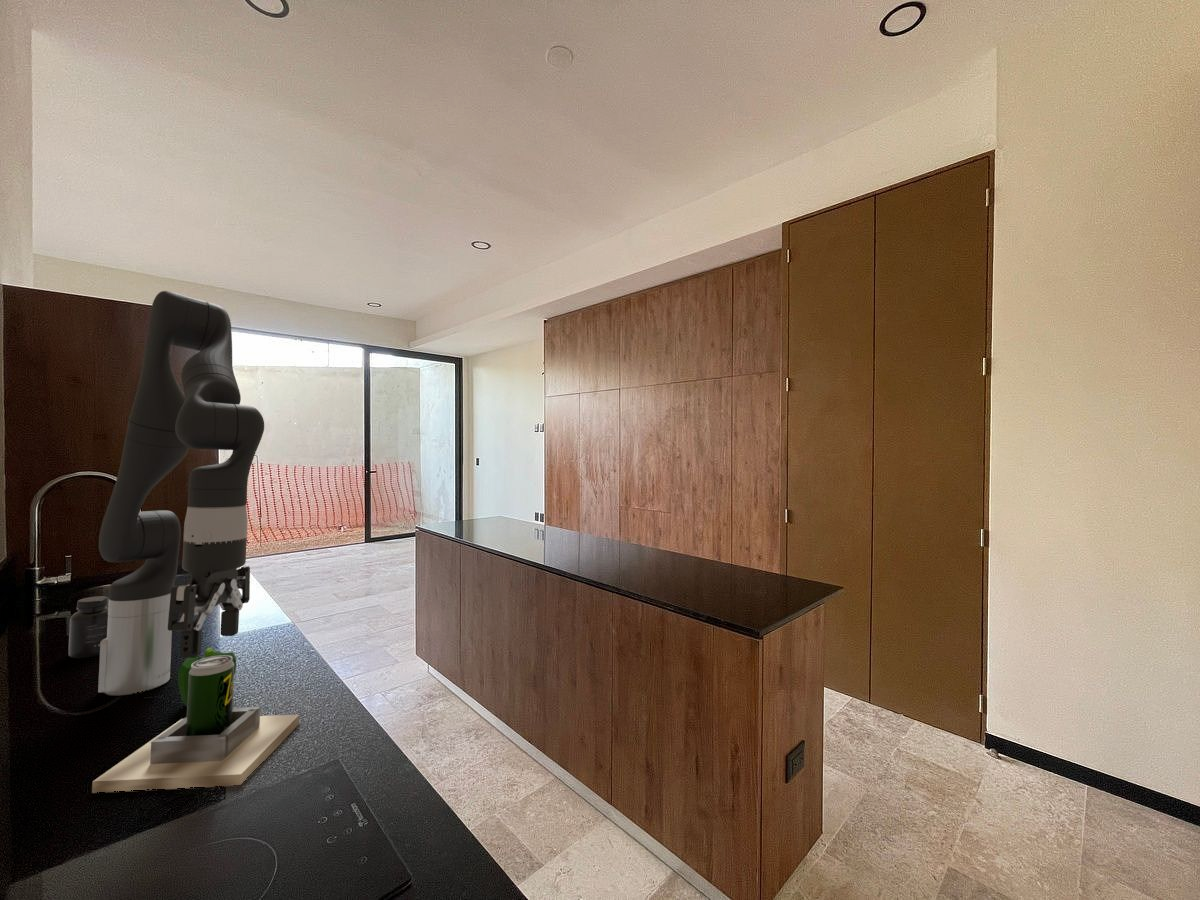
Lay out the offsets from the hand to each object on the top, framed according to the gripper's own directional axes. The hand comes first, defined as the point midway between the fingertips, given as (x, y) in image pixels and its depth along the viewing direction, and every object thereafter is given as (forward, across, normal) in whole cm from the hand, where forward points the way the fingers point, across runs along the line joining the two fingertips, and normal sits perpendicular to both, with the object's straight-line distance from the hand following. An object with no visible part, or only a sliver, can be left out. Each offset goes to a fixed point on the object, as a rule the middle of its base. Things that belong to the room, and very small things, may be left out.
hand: (210, 645), depth 74 cm
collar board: (+16, 0, 0) cm, 16 cm away
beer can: (+15, 0, 0) cm, 15 cm away
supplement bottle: (+17, -43, -51) cm, 69 cm away
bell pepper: (+16, -17, -11) cm, 26 cm away
